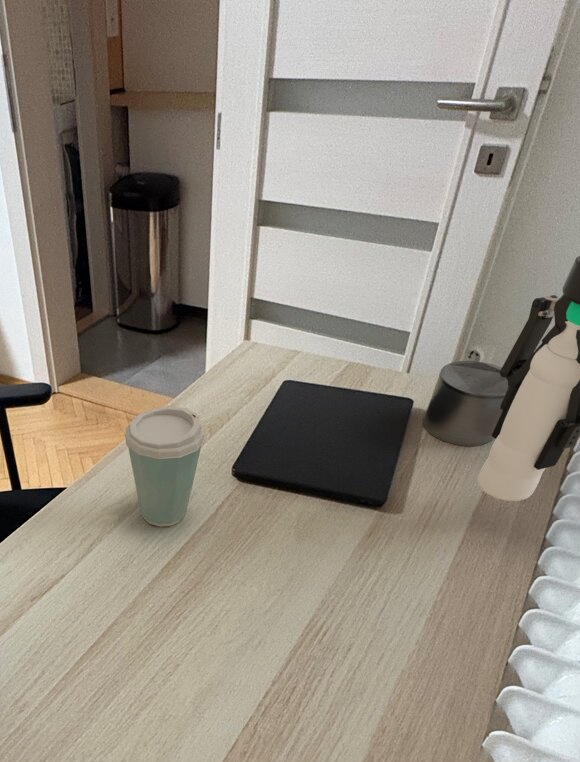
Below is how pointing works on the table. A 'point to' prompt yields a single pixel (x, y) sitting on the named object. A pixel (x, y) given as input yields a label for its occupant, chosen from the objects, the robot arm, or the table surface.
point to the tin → (466, 403)
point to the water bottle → (533, 416)
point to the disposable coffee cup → (164, 461)
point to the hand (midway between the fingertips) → (522, 449)
